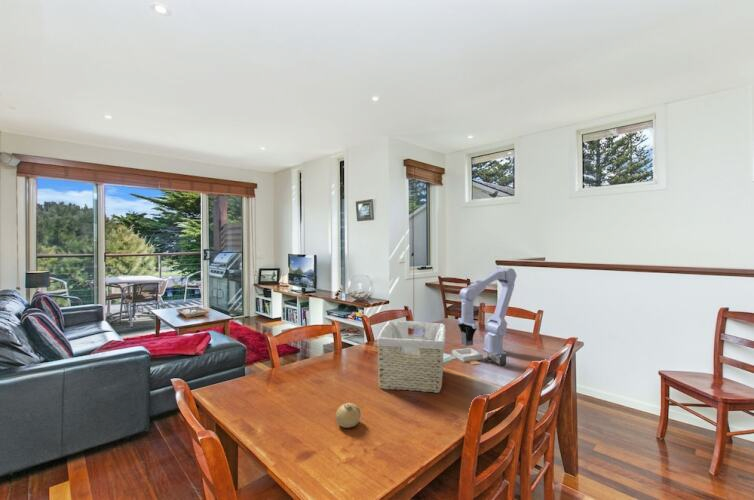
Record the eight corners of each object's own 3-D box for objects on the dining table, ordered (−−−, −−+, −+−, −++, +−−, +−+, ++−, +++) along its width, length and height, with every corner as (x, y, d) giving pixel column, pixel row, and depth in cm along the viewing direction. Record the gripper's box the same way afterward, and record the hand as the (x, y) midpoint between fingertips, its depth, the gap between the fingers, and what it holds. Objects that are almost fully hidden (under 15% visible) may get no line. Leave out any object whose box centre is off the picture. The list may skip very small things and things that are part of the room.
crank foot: (483, 359, 171) (483, 357, 171) (491, 358, 172) (492, 356, 172) (489, 363, 166) (489, 361, 166) (498, 362, 168) (498, 359, 167)
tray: (452, 354, 178) (452, 349, 178) (470, 352, 181) (470, 347, 181) (463, 361, 168) (463, 356, 168) (482, 359, 171) (482, 354, 171)
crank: (485, 357, 170) (485, 347, 170) (491, 356, 171) (491, 347, 171) (501, 366, 159) (502, 355, 159) (507, 365, 160) (507, 355, 160)
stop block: (461, 343, 175) (461, 331, 175) (468, 342, 177) (468, 330, 176) (465, 345, 172) (465, 333, 171) (472, 345, 173) (473, 332, 173)
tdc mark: (468, 361, 168) (468, 361, 168) (475, 361, 169) (475, 360, 169) (473, 364, 164) (473, 364, 164) (480, 363, 165) (480, 363, 165)
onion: (330, 424, 112) (330, 402, 112) (349, 415, 118) (349, 394, 118) (346, 434, 107) (346, 411, 106) (365, 424, 112) (365, 402, 112)
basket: (445, 397, 131) (445, 339, 131) (374, 390, 137) (374, 335, 136) (445, 370, 158) (446, 322, 157) (387, 365, 163) (387, 319, 162)
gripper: (452, 310, 179) (452, 336, 180) (468, 316, 165) (468, 344, 166) (464, 309, 181) (464, 335, 182) (481, 315, 168) (481, 343, 168)
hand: (467, 339), depth 174 cm, fingers closed on stop block, 4 cm apart
